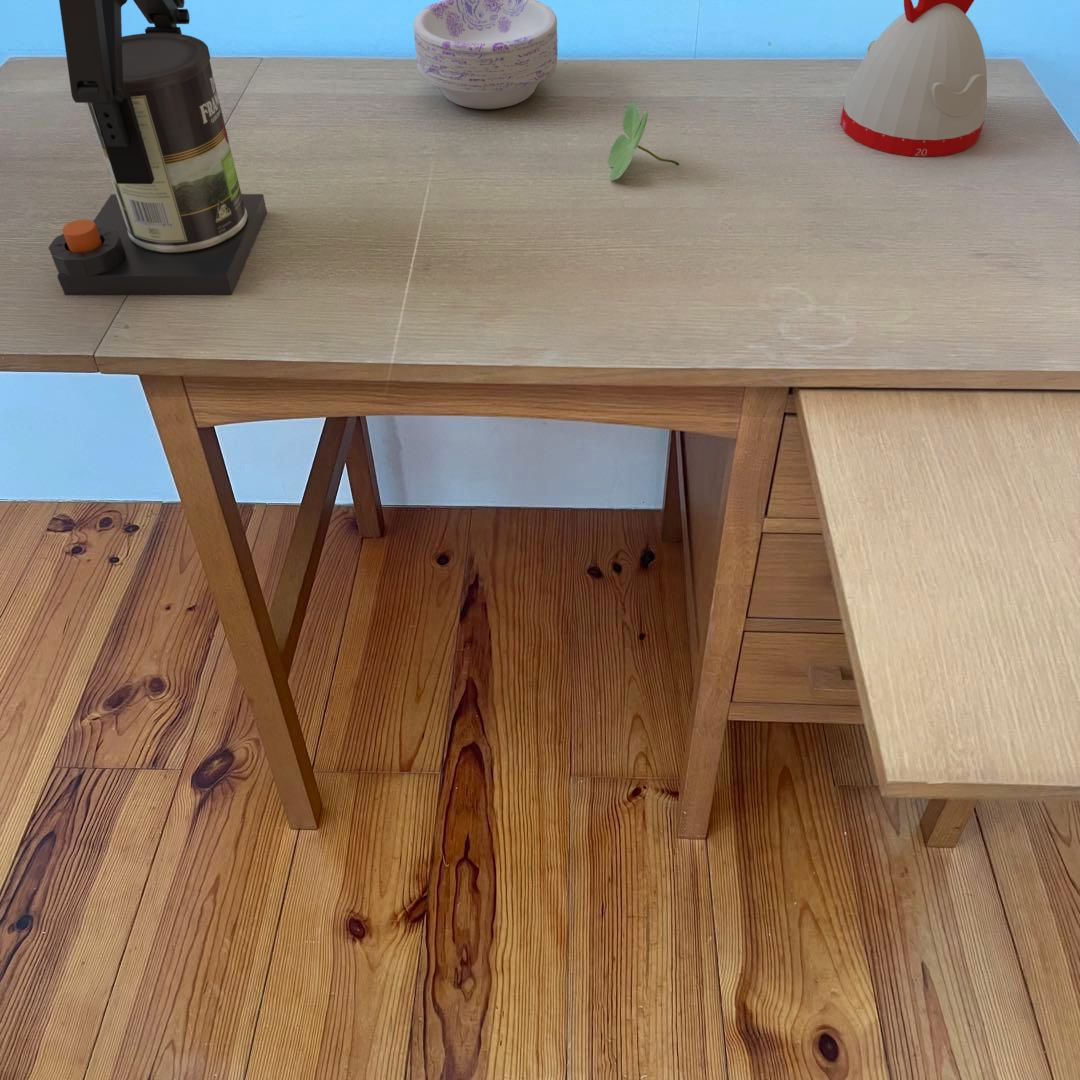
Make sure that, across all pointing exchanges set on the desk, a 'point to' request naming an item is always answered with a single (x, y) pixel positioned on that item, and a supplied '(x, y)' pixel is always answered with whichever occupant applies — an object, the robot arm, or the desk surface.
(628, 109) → the seedling
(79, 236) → the button
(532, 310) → the desk surface
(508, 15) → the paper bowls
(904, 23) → the kitchen timer
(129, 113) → the robot arm
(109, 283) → the scale
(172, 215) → the coffee can
